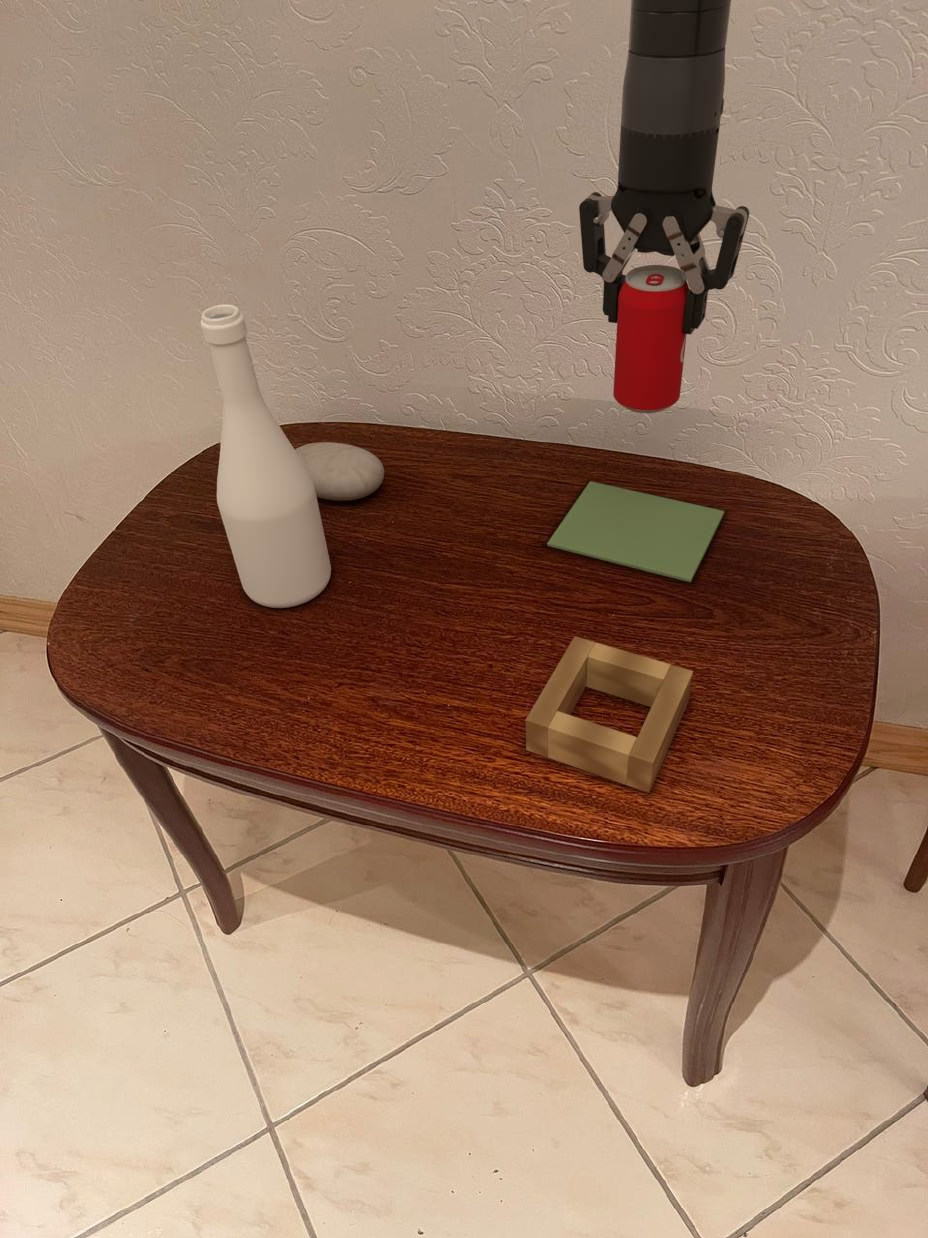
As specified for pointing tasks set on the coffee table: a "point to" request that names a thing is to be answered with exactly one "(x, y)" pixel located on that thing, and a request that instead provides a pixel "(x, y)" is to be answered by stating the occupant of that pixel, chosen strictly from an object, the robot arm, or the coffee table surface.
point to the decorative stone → (341, 470)
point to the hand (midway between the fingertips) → (652, 324)
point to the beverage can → (650, 338)
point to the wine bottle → (262, 481)
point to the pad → (638, 530)
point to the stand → (597, 744)
